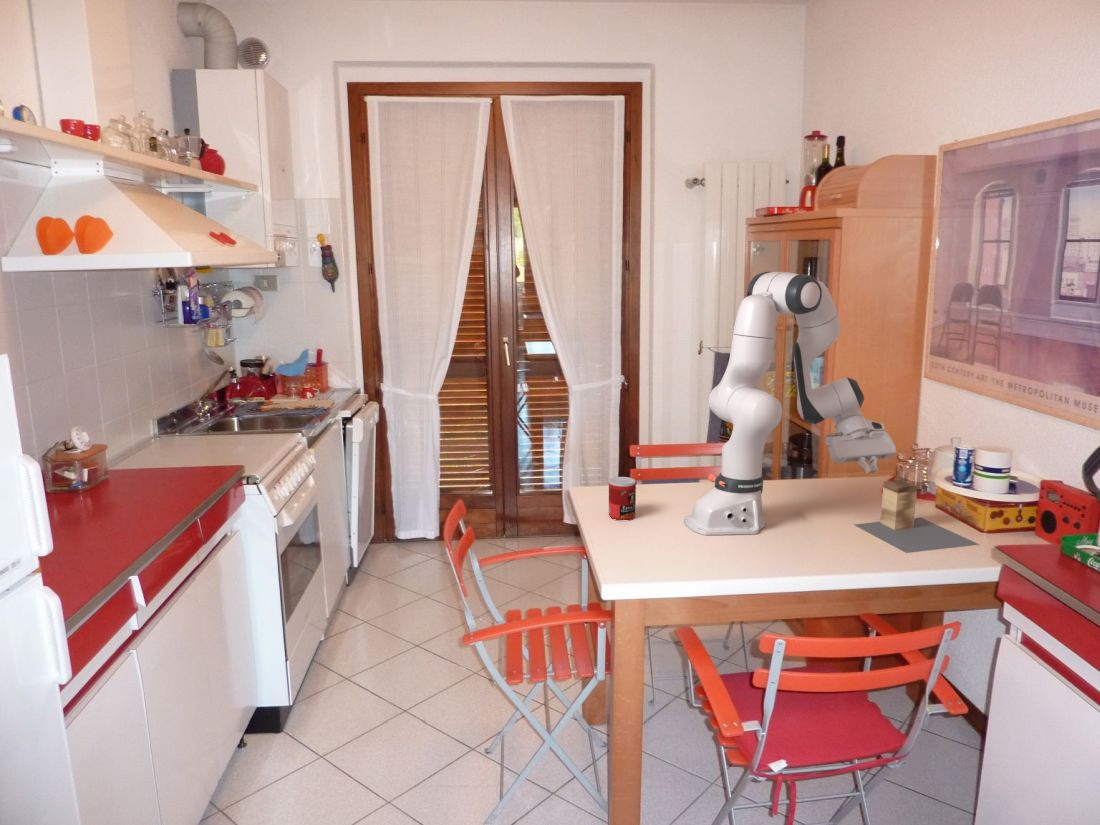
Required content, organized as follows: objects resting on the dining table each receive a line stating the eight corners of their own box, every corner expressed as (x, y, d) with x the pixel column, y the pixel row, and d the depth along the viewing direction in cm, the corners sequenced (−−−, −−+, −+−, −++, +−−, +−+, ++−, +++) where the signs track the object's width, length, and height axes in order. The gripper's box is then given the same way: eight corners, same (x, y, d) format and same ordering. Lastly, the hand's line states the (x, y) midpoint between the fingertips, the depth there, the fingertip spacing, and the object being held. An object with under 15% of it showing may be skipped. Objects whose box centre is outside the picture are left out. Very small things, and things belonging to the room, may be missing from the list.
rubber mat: (906, 555, 202) (906, 552, 202) (852, 526, 223) (853, 524, 222) (979, 546, 207) (979, 544, 207) (920, 519, 228) (920, 517, 228)
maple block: (894, 530, 218) (898, 487, 215) (880, 523, 223) (883, 481, 221) (913, 528, 219) (917, 486, 217) (898, 521, 225) (902, 480, 222)
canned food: (622, 523, 226) (623, 485, 224) (602, 516, 232) (603, 480, 230) (641, 517, 231) (641, 480, 229) (621, 510, 237) (621, 475, 235)
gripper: (827, 428, 233) (846, 469, 225) (888, 423, 238) (908, 463, 231) (818, 439, 238) (835, 480, 231) (877, 434, 243) (896, 474, 236)
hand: (872, 472), depth 231 cm, fingers closed
